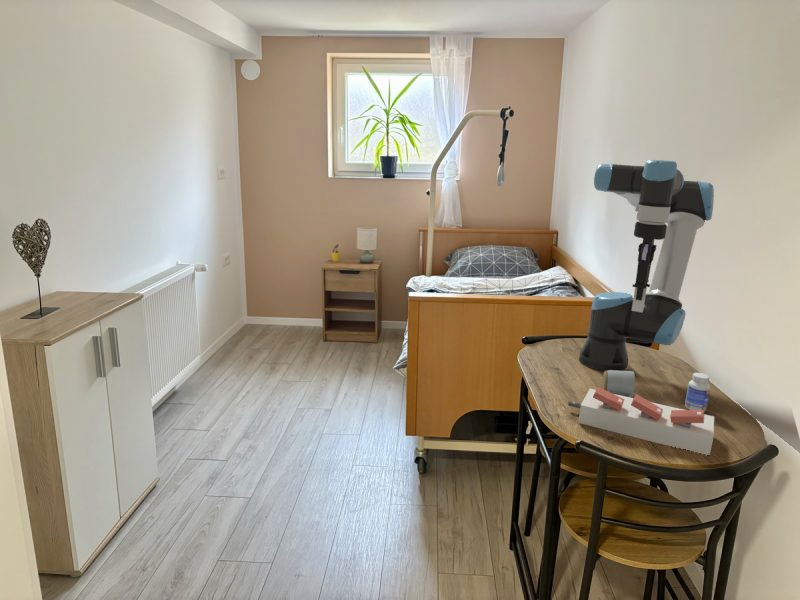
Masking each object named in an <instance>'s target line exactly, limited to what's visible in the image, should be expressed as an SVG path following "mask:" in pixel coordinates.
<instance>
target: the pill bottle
mask: <svg viewBox="0 0 800 600" xmlns="http://www.w3.org/2000/svg"><path fill="white" fill-rule="evenodd" d="M709 382H710V375H708V374H707V373H706V374H705V373H702V372H694V373H693V374H692V379H691V380H690V381H689V382H688V384H687V385H688V386H687V391H686V396H685V403H684V406H685V408H686V410H704V412H706V411H707V409H708V408H707V407H708V404H709V397H710V391H711V387H712V386H711V384H710V383H709Z"/></svg>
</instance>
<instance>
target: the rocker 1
mask: <svg viewBox="0 0 800 600" xmlns="http://www.w3.org/2000/svg"><path fill="white" fill-rule="evenodd" d="M595 390H596V391H595V394H594V396H593V398H595V399H597V400H599V401H601V402H603V403H605V404H607V405H609V406H611V407H613V408H615V409H617V410H619V411H620V409H621V407H622V405H623V403H624V400H625V399H623V398H621V397H619V396H617V395H614V394H612V393H610V392H608V391H606V390H604V389H602V387H600V386H597V388H596V389H595Z"/></svg>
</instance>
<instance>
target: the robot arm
mask: <svg viewBox="0 0 800 600" xmlns="http://www.w3.org/2000/svg"><path fill="white" fill-rule="evenodd" d="M593 186H594V188H595V190H596V191H601V192H605V193H606V192H608V193H614V194H616V195H617V196H620V197H622V198H624V199H626V200H627V202H628V203H629V204H630V205H631V206H632V207H634V208H635V209H634V211H635V212H636V213H637V214H636V220H637V221H636V222H635V224H634V225H635V226H634V230H633V231H634V232H633V235H634V237H636V238H638V239H642V242H641V243H640V244H639V245H638V249H637V251H638V254H637V269H636V277H635V282H634V283H633V284H632V288H634V294H633V295H632V294H631V293H628V292H627V293H626V292H620V291H619V292H616V291H615V292H614V291H613V292H611V291H610V292H609V291H607V292H602V293H598V294H596V295H595V296H594V297H593V300H592V305H591V307H590V310H591V311H590V317H589V325H588V332H587V337H586V340H585V342H584V344H583V346H582V348H581V350H580V351H579V356H578V357H579V358H578V360H579V362H580V363H581V364H583V365H584V366H586V367H589V368H591V369H595V370H598V371H604V372H605V371H608V370H617V371H626V369H628V366H629V355H628V349H627V344H626V341H627V338H630V339H634V340H637V341H638V340H639V341H643V342H648V343H652V344H654V345H663V346H670V345H672V344H674V343H675V342H676V341H677V339H678V337H679V335H680V334H681V331H682V329H683V325H684V322H685V319H686V315H687V314H686V310H685V309H684V308H683V303H682V302H681V301H680V299H679V297H680V295H681V294H680V293H681V291H682V287H683V283H684V279H685V276H686V272H687V268H688V264H689V261H690V258H691V253H692V249H693V246H694V242H695V239H696V235H697V231H698V230H699V229H701V228H702V227H704V225H705V221H707V222H708V221H710V220H712V217H713V211H714V210H713V209H714V200H715V199H714V198H715V197H714V192H715V191H714V190H715V188H714V186H713V184H712V183H710V182H706V181H700V180H696V181H695V180H693V181H692V180H685V178H684V175H683V173H682V172H681V171H680V170H679V169H678V163H677V162H676V161H674V160H662V159H648V160H646V161H645V163H644V165H630V164H629V165H628V164H627V165H626V164H617V163H616V164H615V163H601V164H599V165H598V166H597V167H596V170H595V172H594V176H593ZM655 240H656V241H658V240H662V244H661V248H660V252H659V256H658V259H657V262H656V266H655V270H654V273H653V276H652V280H651V284H650V283H649V282H650V281H649V279H650V273H651V268H652V267H651V266H652V262H653V261H654V259H655V258H654V257H655V252H656V251H657V245H656V244H655ZM648 288H649V291H648V292H647V289H648Z"/></svg>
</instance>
